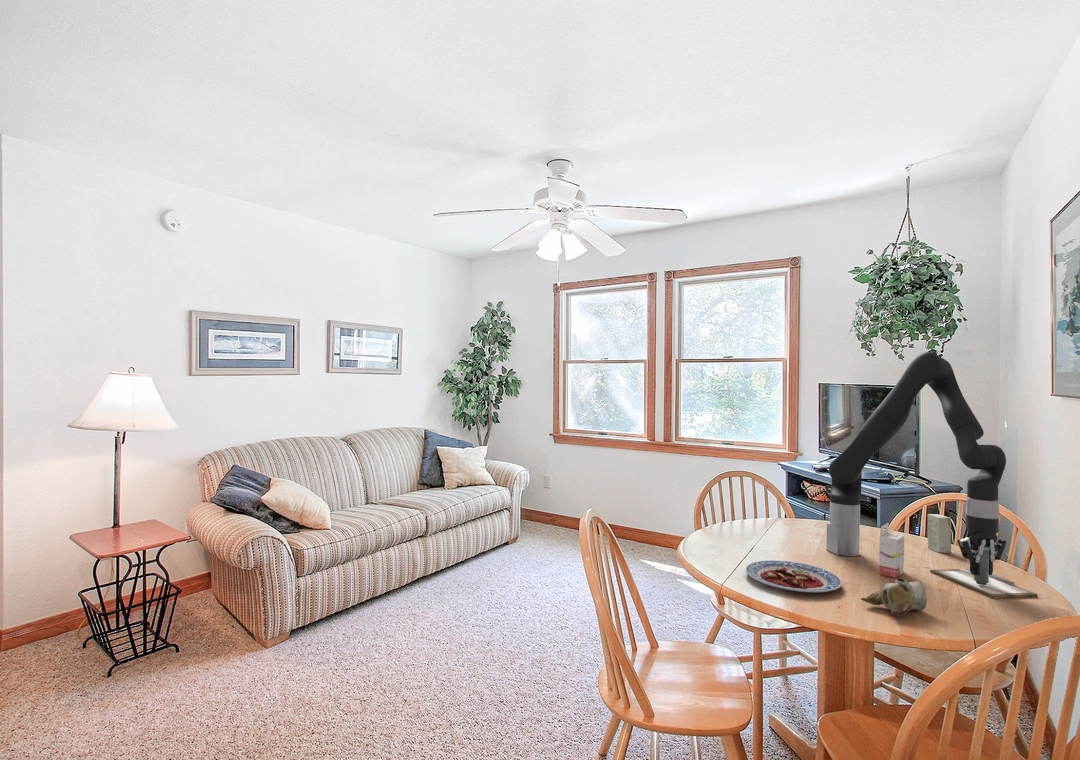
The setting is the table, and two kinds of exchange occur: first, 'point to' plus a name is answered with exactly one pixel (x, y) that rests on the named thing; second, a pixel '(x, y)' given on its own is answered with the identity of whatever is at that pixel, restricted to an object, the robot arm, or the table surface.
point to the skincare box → (939, 533)
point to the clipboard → (993, 589)
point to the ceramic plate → (793, 576)
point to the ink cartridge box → (891, 553)
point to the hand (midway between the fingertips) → (981, 574)
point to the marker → (983, 568)
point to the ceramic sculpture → (900, 596)
